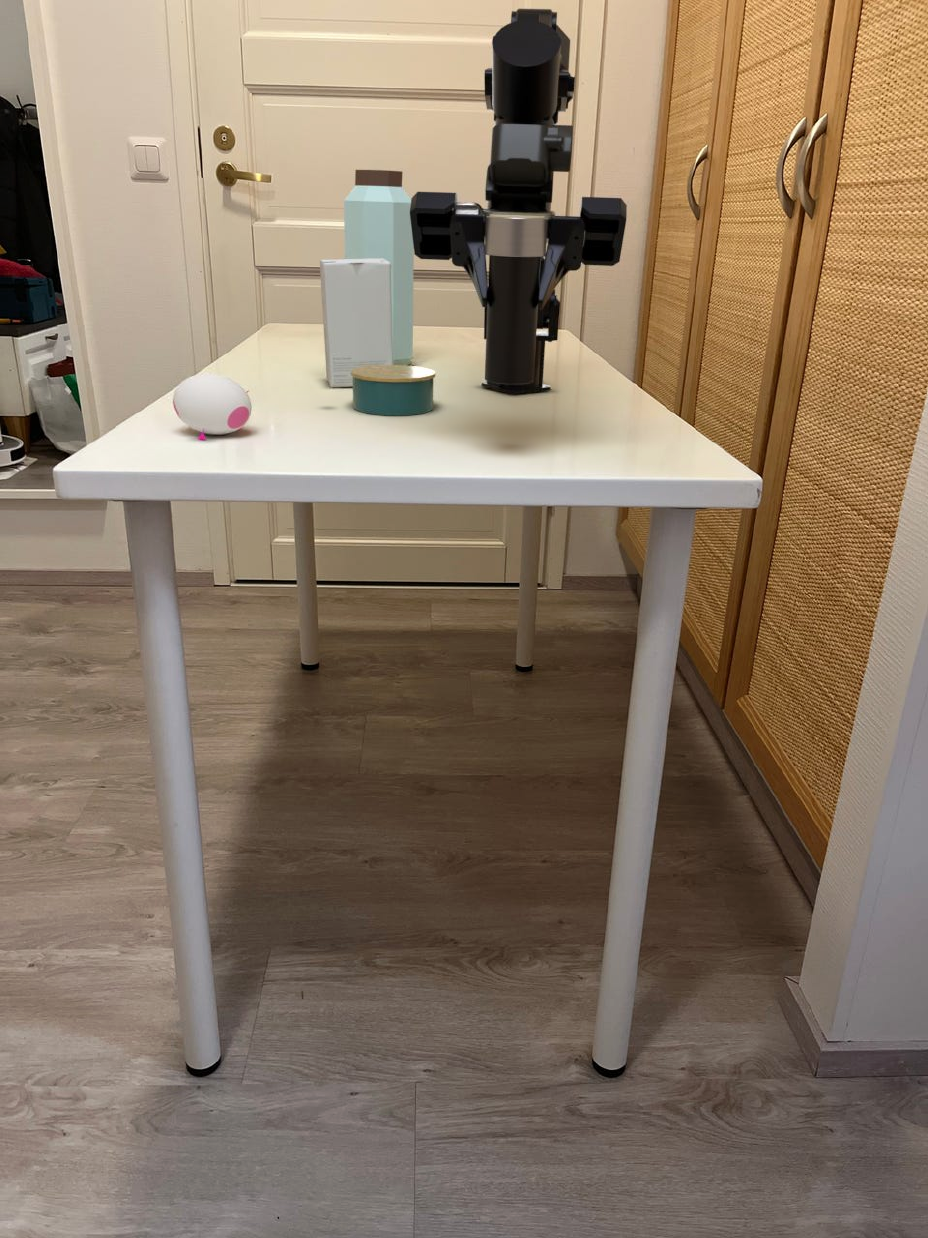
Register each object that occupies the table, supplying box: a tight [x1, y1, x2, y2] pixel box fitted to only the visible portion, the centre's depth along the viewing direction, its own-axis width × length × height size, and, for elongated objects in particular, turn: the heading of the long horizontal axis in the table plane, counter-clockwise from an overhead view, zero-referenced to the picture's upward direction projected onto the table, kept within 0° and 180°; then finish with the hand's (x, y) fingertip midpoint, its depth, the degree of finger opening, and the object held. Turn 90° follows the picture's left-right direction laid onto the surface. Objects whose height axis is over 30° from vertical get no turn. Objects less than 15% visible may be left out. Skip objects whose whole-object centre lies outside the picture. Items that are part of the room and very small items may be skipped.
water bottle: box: [343, 169, 415, 366], centre depth 131 cm, size 10×10×25 cm
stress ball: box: [172, 373, 253, 441], centre depth 92 cm, size 8×8×7 cm
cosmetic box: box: [319, 258, 393, 388], centre depth 117 cm, size 8×6×15 cm
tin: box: [351, 365, 436, 417], centre depth 106 cm, size 9×9×4 cm
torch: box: [484, 214, 548, 384], centre depth 83 cm, size 5×5×14 cm
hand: (512, 304), depth 81 cm, fingers closed on torch, 4 cm apart
